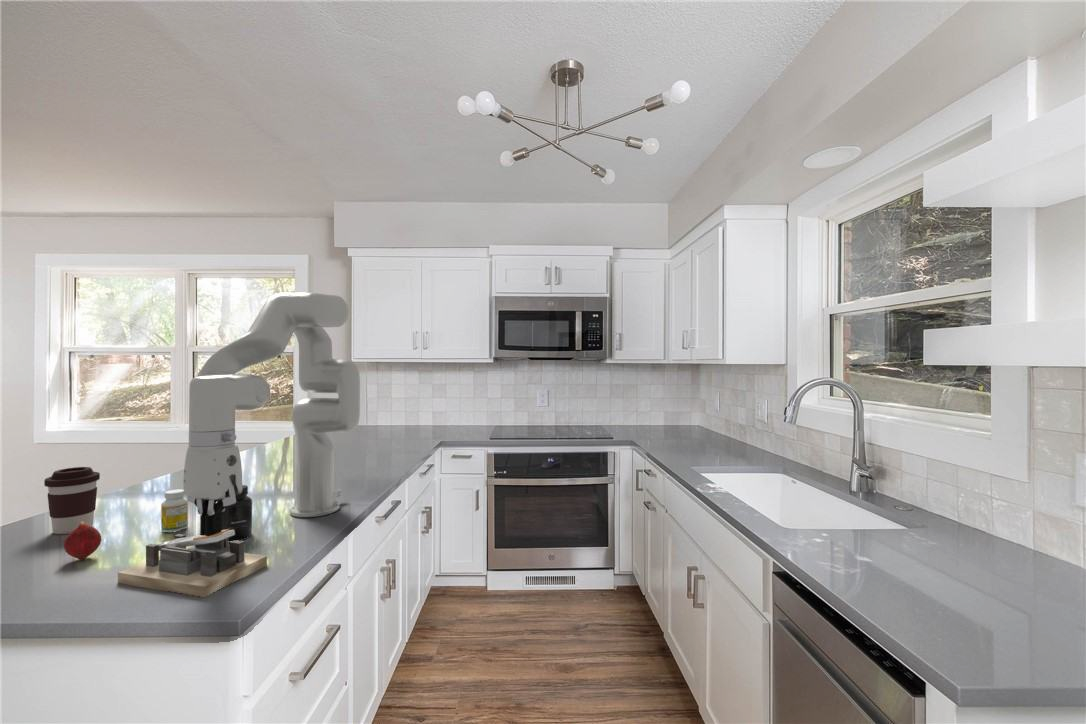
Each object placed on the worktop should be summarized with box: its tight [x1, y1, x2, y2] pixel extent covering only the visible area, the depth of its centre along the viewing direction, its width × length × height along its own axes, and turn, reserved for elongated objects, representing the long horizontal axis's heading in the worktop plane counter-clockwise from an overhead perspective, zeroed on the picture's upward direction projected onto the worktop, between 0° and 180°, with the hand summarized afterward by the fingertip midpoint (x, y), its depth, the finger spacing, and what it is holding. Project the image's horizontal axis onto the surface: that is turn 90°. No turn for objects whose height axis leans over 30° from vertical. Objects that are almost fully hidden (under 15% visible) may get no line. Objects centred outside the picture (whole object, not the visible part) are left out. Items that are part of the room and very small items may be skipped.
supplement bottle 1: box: [160, 488, 189, 533], centre depth 122 cm, size 5×5×10 cm
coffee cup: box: [43, 466, 101, 535], centre depth 122 cm, size 10×10×15 cm
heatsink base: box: [117, 533, 268, 598], centre depth 98 cm, size 14×21×6 cm, turn 75°
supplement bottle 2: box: [222, 484, 253, 541], centre depth 117 cm, size 7×7×12 cm
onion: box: [63, 522, 102, 561], centre depth 104 cm, size 6×6×8 cm
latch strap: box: [158, 529, 235, 552], centre depth 98 cm, size 4×16×1 cm, turn 75°
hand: (211, 533), depth 96 cm, fingers closed
